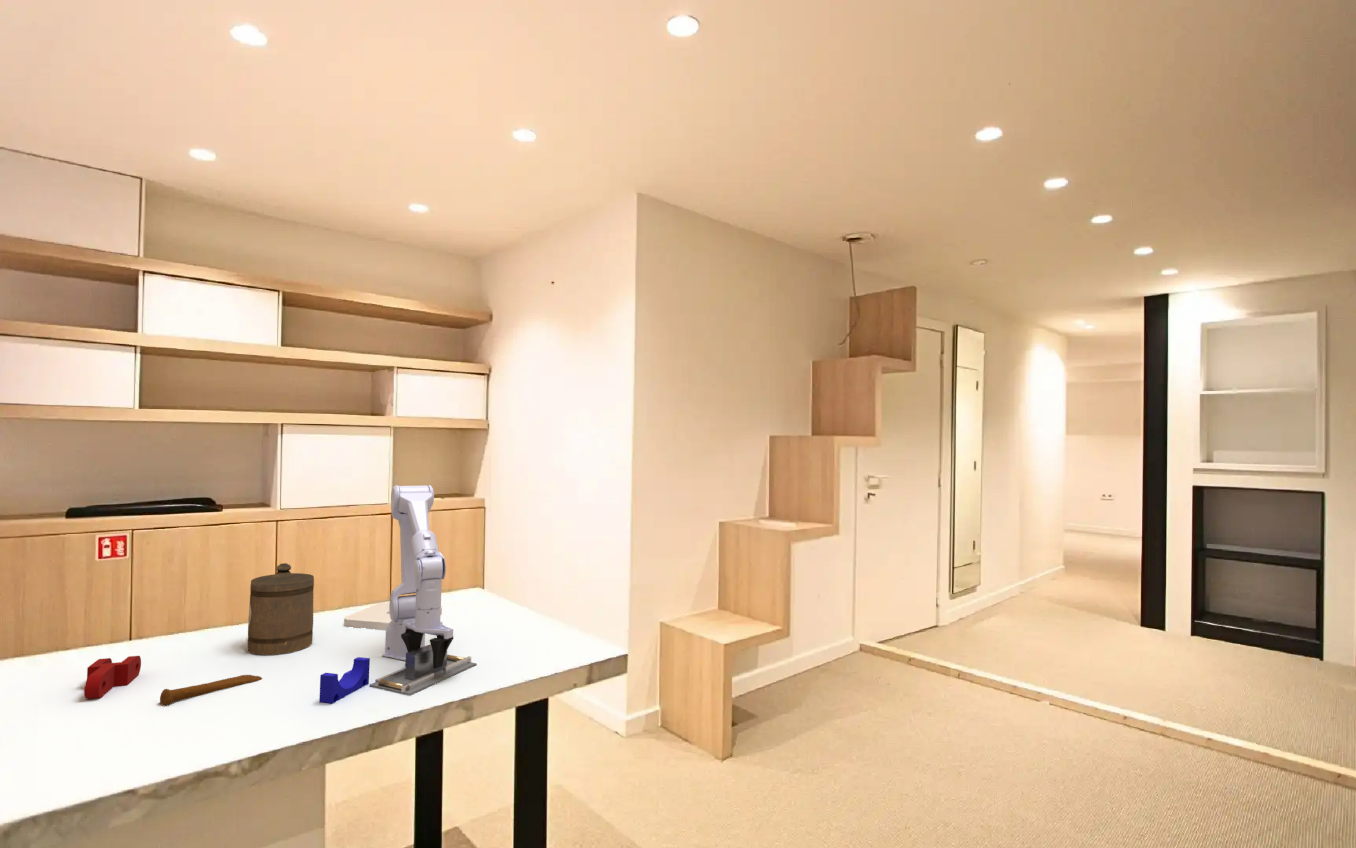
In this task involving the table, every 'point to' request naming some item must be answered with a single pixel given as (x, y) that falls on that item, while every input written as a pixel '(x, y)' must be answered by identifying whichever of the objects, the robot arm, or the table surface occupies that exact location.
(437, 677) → the grey slide base plate
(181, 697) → the primitive tool
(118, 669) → the mechanical linkage
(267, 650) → the wooden container
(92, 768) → the table surface
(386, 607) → the tapered beige board
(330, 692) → the blue cradle bracket
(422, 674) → the dark gray rectangular chunk
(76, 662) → the table surface
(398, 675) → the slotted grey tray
